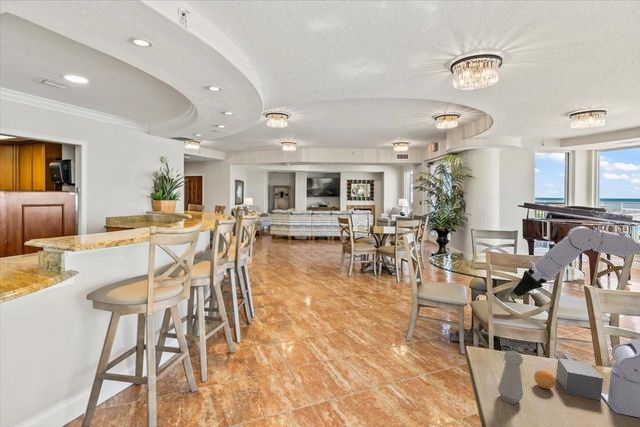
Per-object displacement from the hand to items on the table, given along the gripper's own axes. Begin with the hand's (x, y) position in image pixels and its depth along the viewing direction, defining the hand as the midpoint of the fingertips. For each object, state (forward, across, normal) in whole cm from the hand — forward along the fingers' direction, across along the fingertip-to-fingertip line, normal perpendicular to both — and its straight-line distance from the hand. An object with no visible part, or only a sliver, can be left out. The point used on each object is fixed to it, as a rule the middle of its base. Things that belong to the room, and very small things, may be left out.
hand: (517, 292), depth 99 cm
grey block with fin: (+11, -10, +27) cm, 31 cm away
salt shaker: (+20, +12, +18) cm, 30 cm away
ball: (+14, -1, +21) cm, 25 cm away
